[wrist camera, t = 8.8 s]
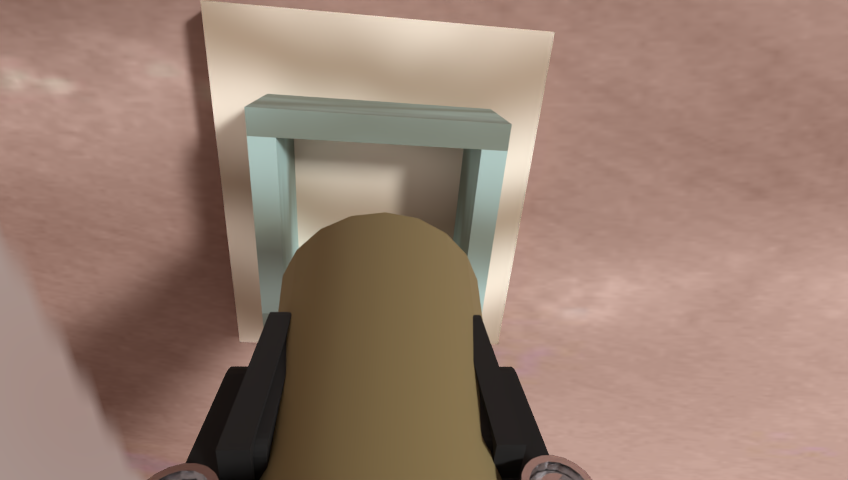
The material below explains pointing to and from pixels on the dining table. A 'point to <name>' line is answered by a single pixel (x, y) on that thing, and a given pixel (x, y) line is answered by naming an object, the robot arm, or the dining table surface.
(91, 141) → the dining table surface
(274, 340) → the robot arm
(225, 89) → the shaker caddy
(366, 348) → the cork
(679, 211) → the dining table surface
